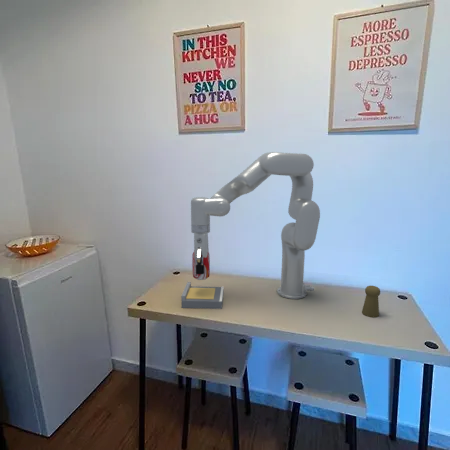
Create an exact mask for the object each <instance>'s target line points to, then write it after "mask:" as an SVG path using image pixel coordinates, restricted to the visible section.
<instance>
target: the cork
mask: <svg viewBox="0 0 450 450" xmlns="http://www.w3.org/2000/svg"><path fill="white" fill-rule="evenodd" d="M364 290H365V298H364V303H363V307H362V310H361V313H362V314H361V315H363V316H365V317H367V318H373V319H375V318H378V317H380V305H379V296H380V295H381V289H380V288H379V287H378V286H376V285H367V286H365V289H364Z"/></svg>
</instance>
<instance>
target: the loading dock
mask: <svg viewBox="0 0 450 450" xmlns="http://www.w3.org/2000/svg"><path fill="white" fill-rule="evenodd" d="M224 289H225V288H224V286H194V285H193V286H192V283H191V281H187V283H186V284H185V286H184V289H183V291H182V293H181V296H180V297H181V300H180V301H181V309H182V308H183V309H208V310H209V309H211V310H212V309H215V310H217V309H219V310H222V309H223V303H224V302H223V301H224V294H225V293H224V291H225V290H224Z"/></svg>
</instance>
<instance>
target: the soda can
mask: <svg viewBox="0 0 450 450" xmlns="http://www.w3.org/2000/svg"><path fill="white" fill-rule="evenodd" d="M201 257H202V255H201ZM210 257H211V256H210V252H208V254H207V257H206V258H205V257H204V258H203V264H204V274H196V257H195V255H194V251H193V253H192V256H191V258H192V259H191V260H192V261H191V262H192V263H191V265H192V277H193V278H194V279H195V280H197V281H205V280H207V279H208V278H209V277H210V275H211V274H210V270H211V268H210V266H211V265H210V264H211V263H210V261H211V260H210V259H211V258H210ZM201 260H202V259H201Z"/></svg>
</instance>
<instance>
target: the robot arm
mask: <svg viewBox="0 0 450 450" xmlns="http://www.w3.org/2000/svg"><path fill="white" fill-rule="evenodd" d="M314 166H315V164H314V160H313V158H312V157H311V156H310V155H309V154H307V153H296V152H295V153H294V152H293V153H291V152H279V151H271V152H270V151H269V152H265V153H263V154H261V155H260V156H258V157H257V159H255V160H254V161H253V162H252V163H251V164H250V165H248V166H247V167H246V168H245V169H244V170H243V171H241V172H240V173H239V174H238V175H237V176H235V177H234V178H233V179H231V180H230V181H229V182H227V183H225V185H224V186H222V187H221V188H220V189H219V190H218V191H216V193H213V195H211V196H210V198H208V197H205V196H204V197H203V196H201V197H200V196H197V197H192V199H191V200H190V231H191V233H192V234H193V248H194V249H193V252H194V255H195V257H196V274H204V264H203V258H204V257H205V258H206V257H207V254H208V252H209V233H211V217H219V218H221V217H225V216H227V215H228V214H229V213H230V211H231V204H232V202H234V201H235V200H237V199H238V198H239V197H241V196H243V195H248V194H249V193H251V192H253V191H255V190H256V189H257V188H258V187H259V186H260V185H262V183H263V182H265V181H266V180H267V179H269V178H270V176H272V175H273V176H274V175H275V176H286V177H287V176H289V177H290V180H291V183H292V184H291V193H290V198H289V204H288V211H287V212H288V215H289V217H290V218H291V219H293V220H295V222H288V223H286V224H285V225H284V226H283V227H282V230H281V233H280V238H281V248H282V249H281V273H280V274H281V275H280V286H279V287H278V288H276V289H277V290H276V292H277V293H276V294H278V296H280V297H282V298H286V299H290V300H298V299H303V298H305V297H306V296H307V291H310V292H315V286H311V285H310V284H305V283H304V273H305V259H306V258H305V256H306V255H305V253H306V251H308V250H310V249H311V248H312V247H313V245H314V244H315V242H316V239H317V234H318V233H317V232H318V229H319V224H320V223H319V222H320V218H321V209H320V207H319V205H318V204H317V203H316V202H315V201H314V200H312V198H313V191H314V178H313V176H312V171H313V169H314ZM209 253H210V252H209ZM201 255H202V257H201ZM201 259H202V260H201Z"/></svg>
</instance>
